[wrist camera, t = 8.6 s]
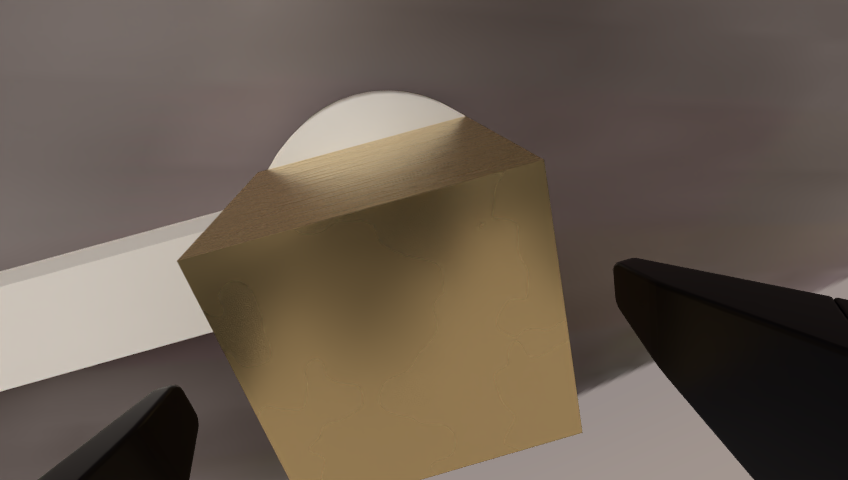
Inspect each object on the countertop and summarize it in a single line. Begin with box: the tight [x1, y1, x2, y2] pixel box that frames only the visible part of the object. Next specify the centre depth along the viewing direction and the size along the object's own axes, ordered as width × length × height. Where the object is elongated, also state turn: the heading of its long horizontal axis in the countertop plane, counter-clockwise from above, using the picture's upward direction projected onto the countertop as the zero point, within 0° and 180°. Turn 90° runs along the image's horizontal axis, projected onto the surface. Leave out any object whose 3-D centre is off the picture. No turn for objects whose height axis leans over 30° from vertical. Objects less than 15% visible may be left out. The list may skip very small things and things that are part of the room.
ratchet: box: [0, 90, 464, 391], centre depth 13 cm, size 28×8×6 cm, turn 104°
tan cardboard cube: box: [177, 116, 582, 480], centre depth 11 cm, size 6×6×6 cm
